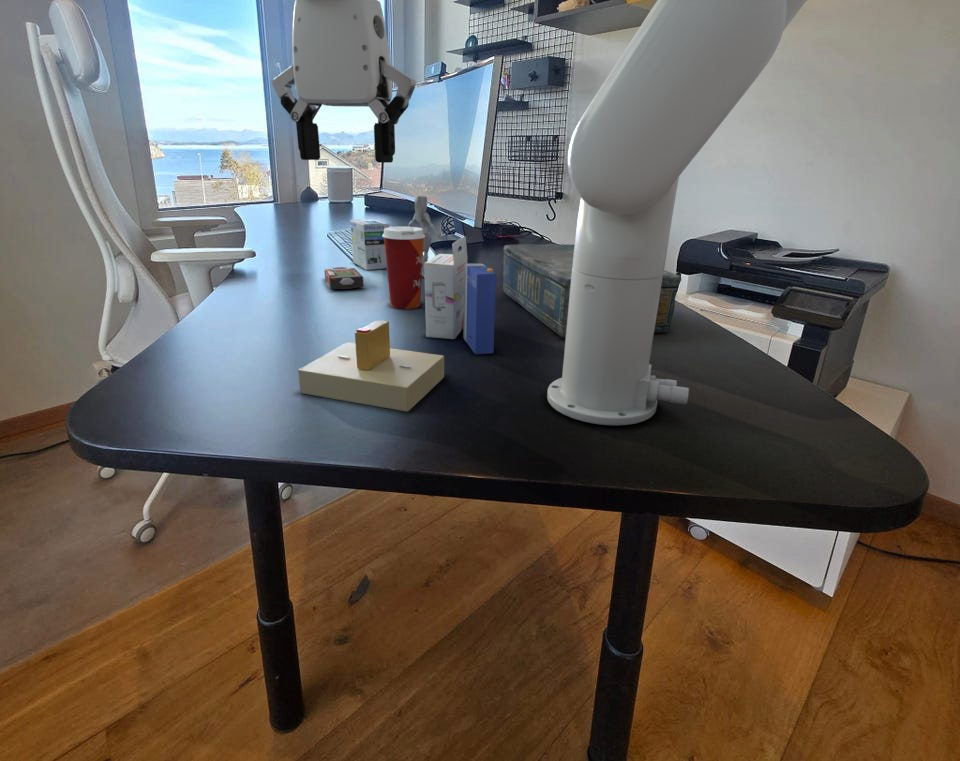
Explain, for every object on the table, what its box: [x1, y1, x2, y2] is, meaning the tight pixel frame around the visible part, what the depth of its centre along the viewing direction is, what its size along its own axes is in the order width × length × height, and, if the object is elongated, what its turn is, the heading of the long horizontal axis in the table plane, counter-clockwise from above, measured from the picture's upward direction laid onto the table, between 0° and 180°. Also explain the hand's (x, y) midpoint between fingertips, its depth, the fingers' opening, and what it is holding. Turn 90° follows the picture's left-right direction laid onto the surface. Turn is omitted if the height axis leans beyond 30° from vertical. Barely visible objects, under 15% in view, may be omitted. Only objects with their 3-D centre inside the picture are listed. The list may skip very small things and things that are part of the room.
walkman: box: [462, 262, 497, 355], centre depth 80 cm, size 8×3×12 cm, turn 14°
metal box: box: [502, 243, 682, 339], centre depth 100 cm, size 21×32×10 cm, turn 15°
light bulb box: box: [349, 218, 391, 271], centre depth 135 cm, size 11×7×11 cm, turn 30°
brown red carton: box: [324, 266, 365, 290], centre depth 118 cm, size 7×3×15 cm
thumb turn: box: [354, 319, 391, 370], centre depth 65 cm, size 6×2×5 cm, turn 162°
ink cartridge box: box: [423, 235, 468, 340], centre depth 86 cm, size 9×5×15 cm, turn 168°
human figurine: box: [407, 194, 443, 279], centre depth 122 cm, size 12×4×18 cm, turn 49°
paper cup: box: [382, 226, 425, 310], centre depth 100 cm, size 8×8×14 cm
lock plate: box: [297, 341, 445, 413], centre depth 67 cm, size 14×11×3 cm
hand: (346, 161), depth 64 cm, fingers open, 9 cm apart
